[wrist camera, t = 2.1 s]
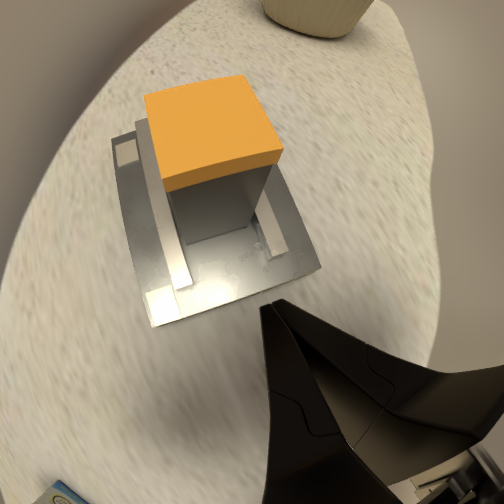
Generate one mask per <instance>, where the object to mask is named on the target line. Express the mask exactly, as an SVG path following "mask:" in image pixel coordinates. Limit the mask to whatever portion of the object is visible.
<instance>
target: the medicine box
mask: <svg viewBox="0 0 504 504" xmlns="http://www.w3.org/2000/svg"><path fill="white" fill-rule="evenodd" d="M33 504H88V503H86V502H85V501H84V500H82V499H81V498H80V497H78V496H77V495H76V494H75V493H73V492H72V491H71V490H70V489H68V488H67V487H66V486H65V485H64V484H62V483H61V482H60V481H56V482H55V483H54V484H53V485H52V486H51V487H50V488H49V489H48V490H47V491H46V492H45V493H43V494H42V495H41V496H40V497H39V498H38V499H37V500H36V501H35V502H34V503H33Z"/></svg>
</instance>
